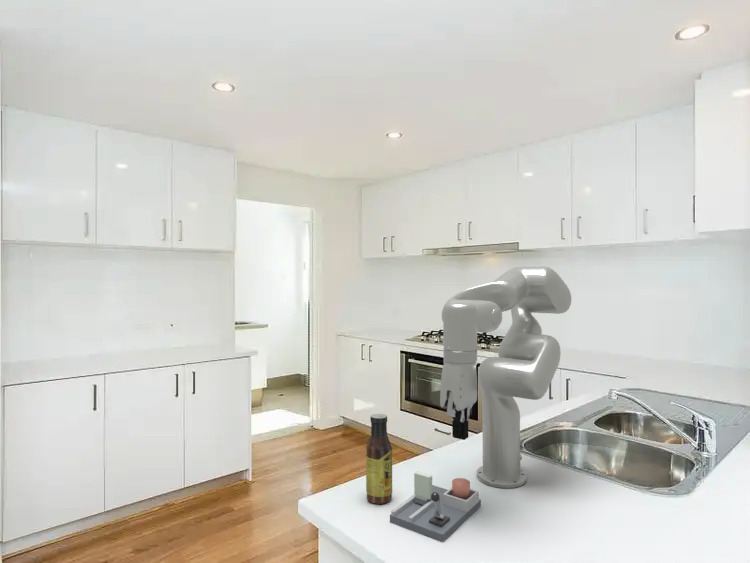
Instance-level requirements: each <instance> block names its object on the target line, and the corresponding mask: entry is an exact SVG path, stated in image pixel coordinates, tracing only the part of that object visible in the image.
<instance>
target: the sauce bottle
mask: <svg viewBox="0 0 750 563" xmlns="http://www.w3.org/2000/svg"><path fill="white" fill-rule="evenodd" d="M369 420H370V424H371V425H370V426H371V428H370V430H371V431H370V435H369V436H370V437H369V438H368V440H367V442H366V455H365V464H366V465H365V467H366V468H365V471H366V472H365V477H366V479H365V481H366V482H365V484H366V485H365V487H366V490H365V491H366V499H367V500H368V502H370V503H372V504H378V505H382V504H385V503H386V504H387V503H388V502H390V501H391V500H392V497H393V496H392V495H393V448H392V445H391V442H390V439H389V437H388V431H387V430H388V429H387V428H388V426H387V422H388V416H387V415H386V414H384V413H374V414H371V415H370V419H369Z"/></svg>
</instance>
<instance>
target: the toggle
mask: <svg viewBox="0 0 750 563" xmlns="http://www.w3.org/2000/svg"><path fill="white" fill-rule="evenodd" d="M439 498H440V496H439V494H438V493H436V492H434V493H432V494H431V499H432V501H433V502H434V506H435V511H436V512H435V513H434V517H436V518H439V519H442V520H444V518H445V515H443V514H442V513H441V508H440V504H439Z"/></svg>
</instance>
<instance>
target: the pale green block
mask: <svg viewBox="0 0 750 563" xmlns="http://www.w3.org/2000/svg"><path fill="white" fill-rule="evenodd" d="M413 476H414V477H413V478H414V480H413V481H414V482H413V484H414V486H413V487H414V489H413V490H414V494H413V495H416V496H415V497H414V502H416V503H418V504H421V505H425V504H426V503H428V502H429V501H430V500H432V499H431V494H432V485H433V475H431V474H427V473H423V472H420V471H415V472H414V473H413Z"/></svg>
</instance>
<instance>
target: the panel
mask: <svg viewBox="0 0 750 563" xmlns="http://www.w3.org/2000/svg"><path fill="white" fill-rule="evenodd" d="M434 492H436V493H438V494H439V496H440V498H439V504H440V508H441V513H442V514H443V515H445V518H444V520H442V519H439V518H436V517H434V513H435V512H436V511H435V506H434V502H433V501H432V500H430V501H429V502H428V503H426V504H425V505H421V504H418V503H416V502H414V497H415V496H416V495H414V494H413V495H412V496H410V497H409V498H408V499H406V500H405V501H403V502H402V503H401V504H399V505H398V506H396V507H395V508H394V509H392V510H391V511H390V514H389V522H390V523H392V524H395V525H397V526H399V527H403V528H404V527H405V529H407V530H410V531H412V532H415V533H417V534H420V535H422V536H425V537H428V538H431V539H433V540H436V541H439V542H442V543H444V542H445V541H446V540H447V539H448V538H449V537H450V536H451V535H452V534H453V533H454V532H455V531H456V530H458V528H459V527H461V526H462V525H463V524H464V523H465V522H466V521H467V520H468V519H469V518H471V516H472V515H473V514H474V513H476V512H477V510H479V508H481V507H482V500H481V499H480V491H479V490H476V489H472V488H470V497H469V498H467V499H461V498H457V497H454V496H453V495H452V487H451V488H449V489H447V488H443V487H440V486H437V485H434V484H432V493H434Z"/></svg>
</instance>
